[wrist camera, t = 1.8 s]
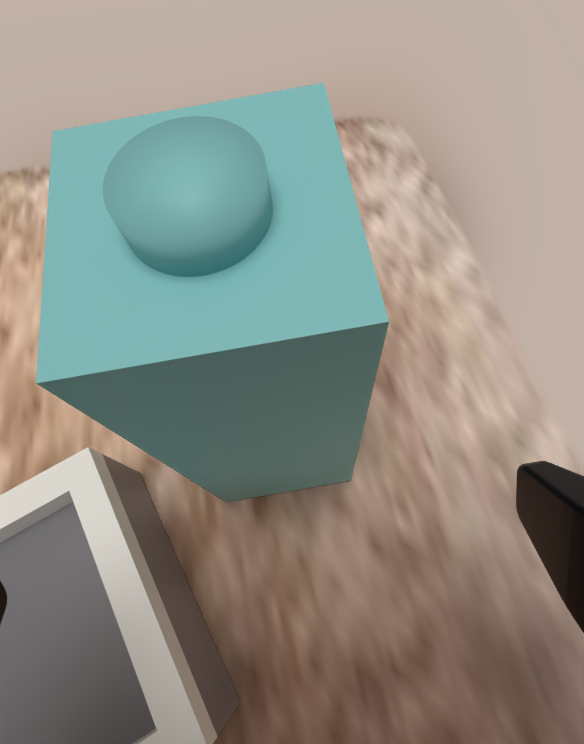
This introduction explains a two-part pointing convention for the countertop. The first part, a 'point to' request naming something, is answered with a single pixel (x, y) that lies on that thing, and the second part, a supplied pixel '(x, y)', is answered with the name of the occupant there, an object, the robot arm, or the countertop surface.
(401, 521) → the countertop surface
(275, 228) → the tall brick
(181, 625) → the tower base
